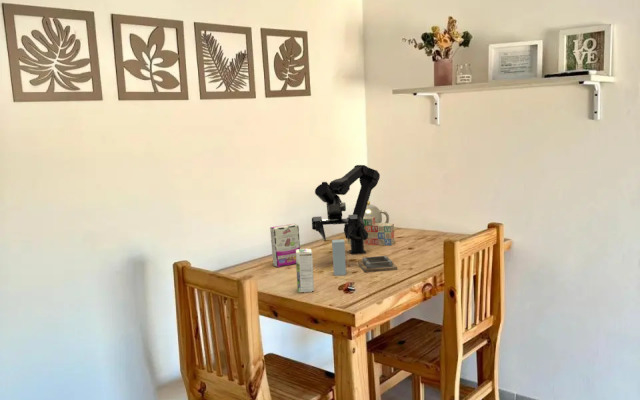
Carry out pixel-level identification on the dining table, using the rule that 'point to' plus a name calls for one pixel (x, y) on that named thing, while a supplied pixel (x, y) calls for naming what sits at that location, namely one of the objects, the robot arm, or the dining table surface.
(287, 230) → the candy bar box
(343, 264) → the block
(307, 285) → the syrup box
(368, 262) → the jig
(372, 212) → the teapot
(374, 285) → the dining table surface
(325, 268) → the dining table surface
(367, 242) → the stack of blocks
